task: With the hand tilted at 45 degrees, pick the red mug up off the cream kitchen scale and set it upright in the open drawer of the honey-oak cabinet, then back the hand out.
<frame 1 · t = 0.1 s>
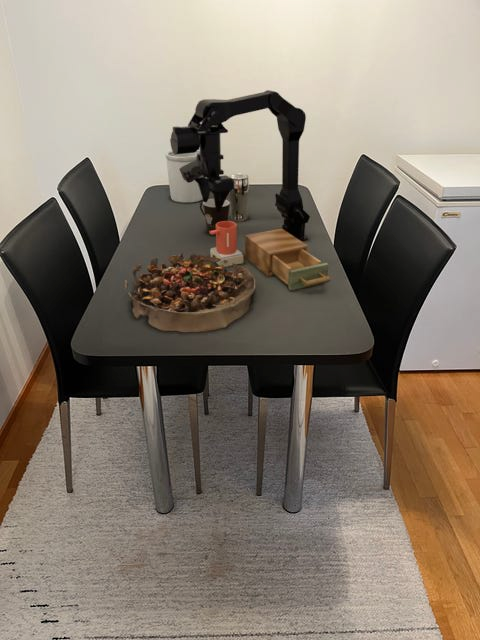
hand: (211, 206, 144), 15 cm above the table, tool pointing down, fingers open, 9 cm apart
red mug: (226, 250, 146), point 3 cm above the table, touching kitchen scale
beer glass: (239, 219, 178), on the table
coffee mug: (215, 231, 168), on the table
drawer: (300, 270, 134), point 3 cm above the table, slide at 10.0 cm
kitchen scale: (226, 260, 148), on the table
food dish: (191, 296, 130), on the table
cabinet: (274, 262, 147), on the table
utensil holder: (187, 198, 198), on the table
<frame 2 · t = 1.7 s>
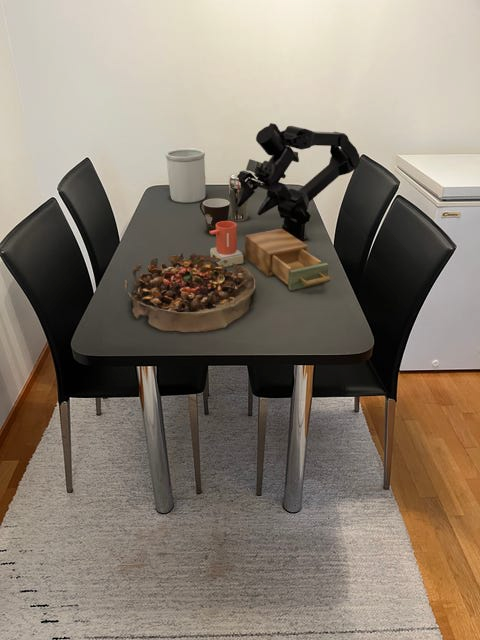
hand: (248, 210, 145), 13 cm above the table, tool tilted 45°, fingers open, 9 cm apart
nothing on the table moved.
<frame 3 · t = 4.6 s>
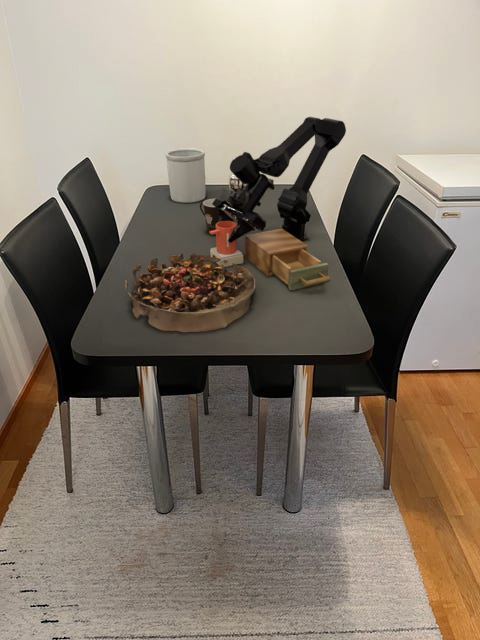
hand: (222, 238, 144), 7 cm above the table, tool tilted 45°, fingers closed on red mug, 6 cm apart
red mug: (226, 250, 146), point 3 cm above the table, touching gripper, kitchen scale
everything else where it was.
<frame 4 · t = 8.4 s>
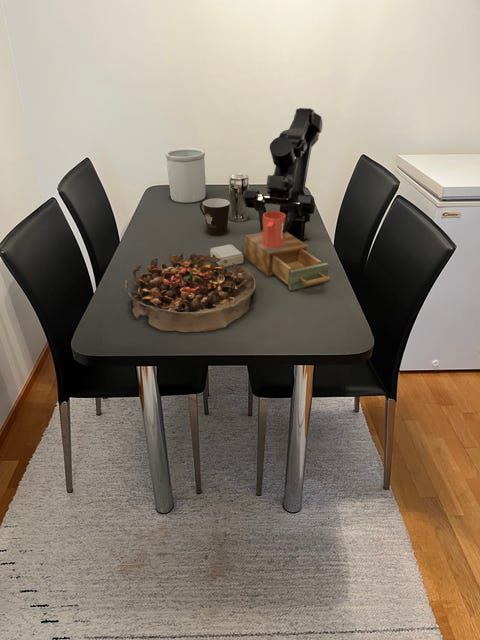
hand: (272, 231, 131), 14 cm above the table, tool tilted 45°, fingers closed on red mug, 6 cm apart
red mug: (273, 243, 135), point 9 cm above the table, touching gripper
everything else where it was.
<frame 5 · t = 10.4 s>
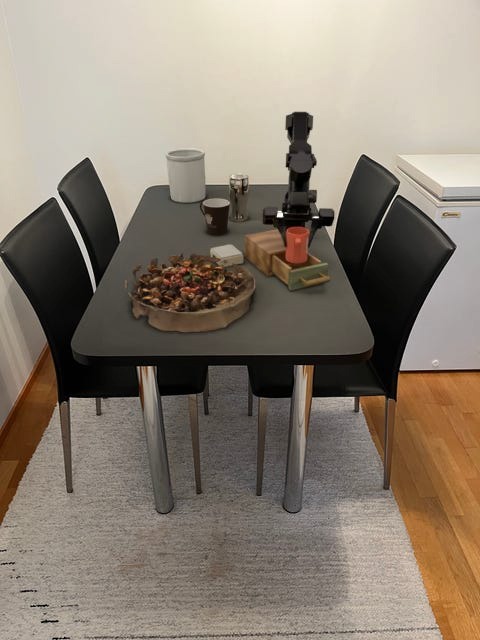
hand: (297, 246, 132), 10 cm above the table, tool tilted 45°, fingers closed on red mug, 6 cm apart
red mug: (296, 258, 135), point 6 cm above the table, touching gripper
everything else where it was.
when the fingers open (6 cm above the table, at t = 12.0 s): red mug stays where it is, resting on drawer.
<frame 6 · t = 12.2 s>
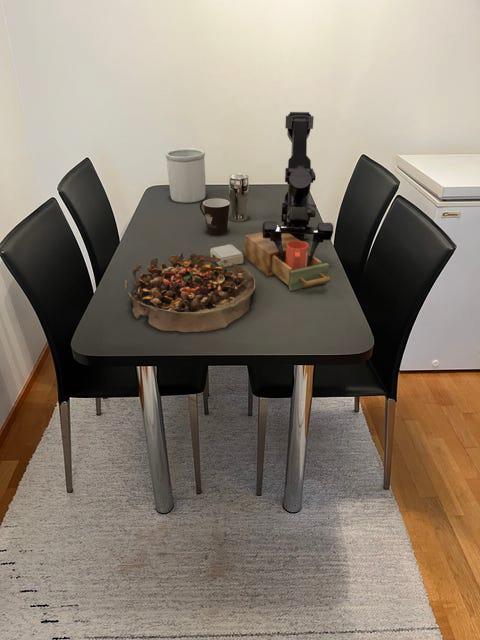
hand: (296, 260, 134), 6 cm above the table, tool tilted 45°, fingers open, 7 cm apart
red mug: (295, 271, 137), point 2 cm above the table, touching drawer
drawer: (300, 270, 134), point 3 cm above the table, slide at 10.2 cm, touching red mug
everything else where it was.
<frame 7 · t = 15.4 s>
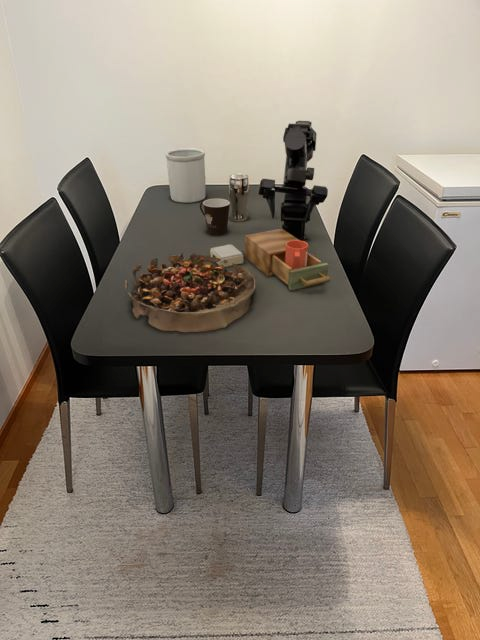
hand: (289, 220, 139), 13 cm above the table, tool tilted 40°, fingers open, 9 cm apart
nothing on the table moved.
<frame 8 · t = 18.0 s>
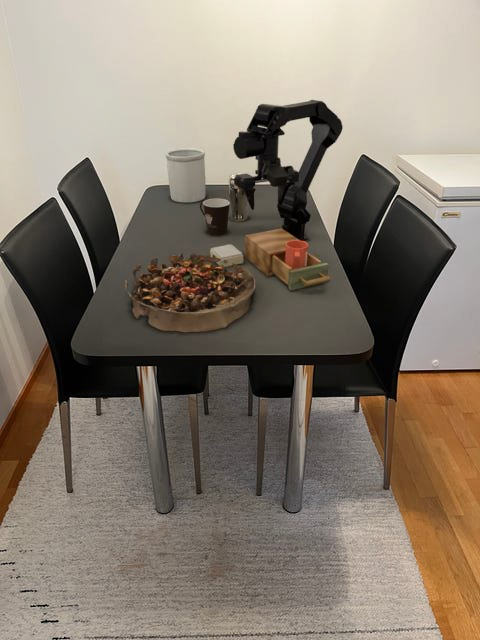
hand: (266, 207, 149), 13 cm above the table, tool pointing down, fingers open, 9 cm apart
nothing on the table moved.
at the end: red mug inside the target area in the drawer (1.3 cm from its centre), point 1.9 cm above the cabinet's base; red mug tilted 0°; the gripper is holding nothing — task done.
